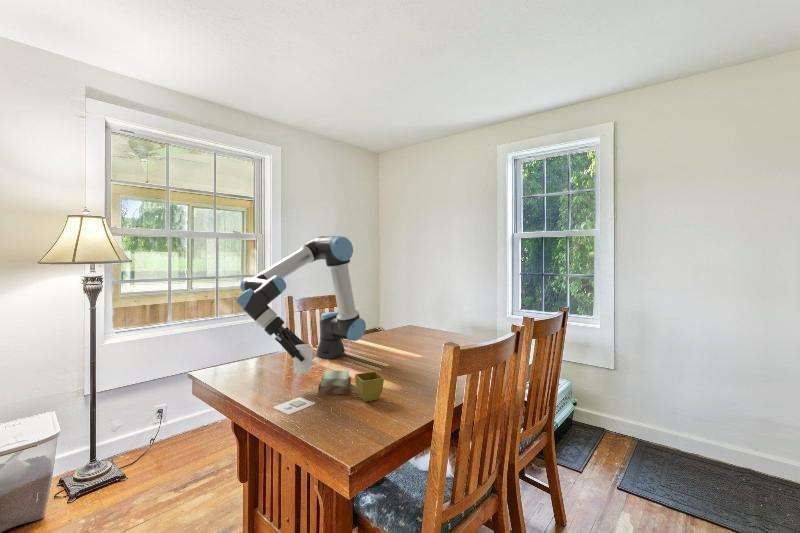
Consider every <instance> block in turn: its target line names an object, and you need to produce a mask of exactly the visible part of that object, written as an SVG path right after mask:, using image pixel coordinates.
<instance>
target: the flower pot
mask: <svg viewBox="0 0 800 533" xmlns="http://www.w3.org/2000/svg"><path fill="white" fill-rule="evenodd" d="M354 378H355V379H354V380H355V387H356V391H357V394H358V396H359V397H360V399H362V401H364V403H368V402H367V401H369V402H374V401H377V400H378V399H380V397H381V395H382V392H383V390H384V389H383V388H384V382H385V377H384V376H383V375H381V374H380V373H378V372H377V371H373V370H372V371H368V372H362V373H354ZM373 400H374V401H373Z"/></svg>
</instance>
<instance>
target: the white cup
mask: <svg viewBox="0 0 800 533" xmlns="http://www.w3.org/2000/svg"><path fill="white" fill-rule="evenodd" d="M295 347H296V348H297V349H298V350H299V352H302V353H303V354H304V355H305V356H306V357H307V358H308V359H309V360H310V361H311V362H312V364H311V365H310V366H309V367H308V368H306V367H305V366H304V365H303V364H302V363H301V362H300V361H299V360H298V359H297V358H296V357H294V358H292V360H293V361H292V362H293V372H294V373H295V374H298V375H303V374H304V375H306V374H309V373H311V372H312V369H313V368H312V365H313V360H312V358H313V354H314V353H313V352H314V345H312V344H307V343H305V344H300V345H295Z"/></svg>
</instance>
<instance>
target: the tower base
mask: <svg viewBox="0 0 800 533" xmlns="http://www.w3.org/2000/svg"><path fill="white" fill-rule="evenodd" d="M349 375H350V370H327V369H326V370H325V369H324V370H323V374H322V377H321V379H320V381H319V384H318V387H317V388H318V391H317V394H318V396H326V395H327V396H335V395H334V394H349V393H350V394H351V387H350V386H352V376H349ZM328 394H329V395H328ZM331 394H332V395H331ZM350 394H349V395H350Z"/></svg>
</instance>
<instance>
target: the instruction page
mask: <svg viewBox="0 0 800 533" xmlns="http://www.w3.org/2000/svg"><path fill="white" fill-rule="evenodd" d="M315 405H316V402H314V401H310V400H308V399H305V398H302V397H301V396H299V397H296V398H293V399H291V400H288V401H285V402H282V403H280V404H278V405H275V406H273V407H271V409H274V410H276V411H278V412H280V413H283V414H285V415H287V416H291V415H292V414H295V413H298V412H299V411H302V410H304V409H306V408H310V407H312V406H315Z"/></svg>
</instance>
